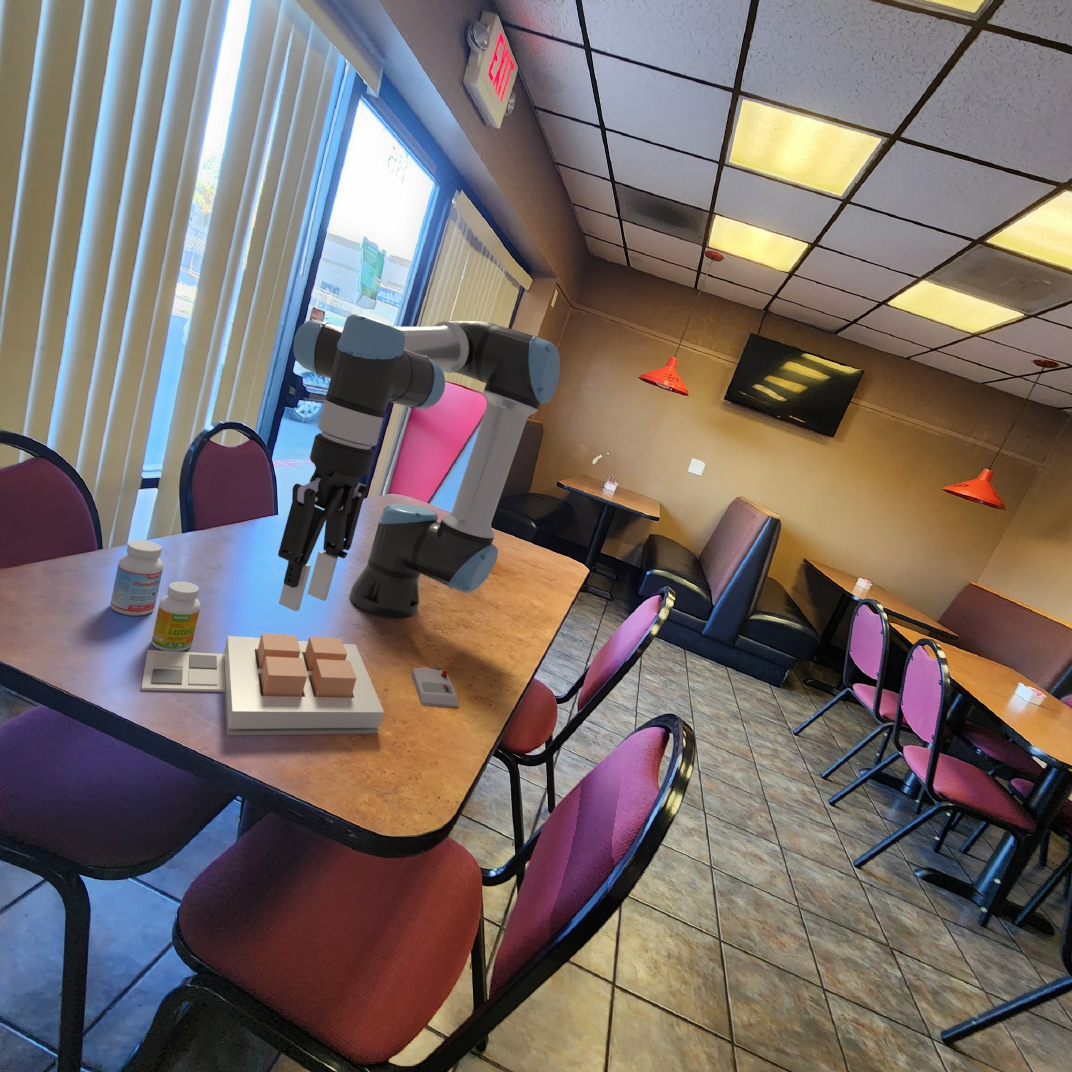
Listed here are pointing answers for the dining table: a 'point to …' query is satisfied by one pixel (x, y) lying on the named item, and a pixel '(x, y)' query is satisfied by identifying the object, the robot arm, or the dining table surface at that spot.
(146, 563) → the pill bottle
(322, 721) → the board
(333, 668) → the button
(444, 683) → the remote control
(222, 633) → the dining table surface
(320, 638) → the button
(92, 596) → the dining table surface
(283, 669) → the button
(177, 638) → the supplement bottle
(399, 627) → the dining table surface
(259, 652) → the button
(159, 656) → the card
